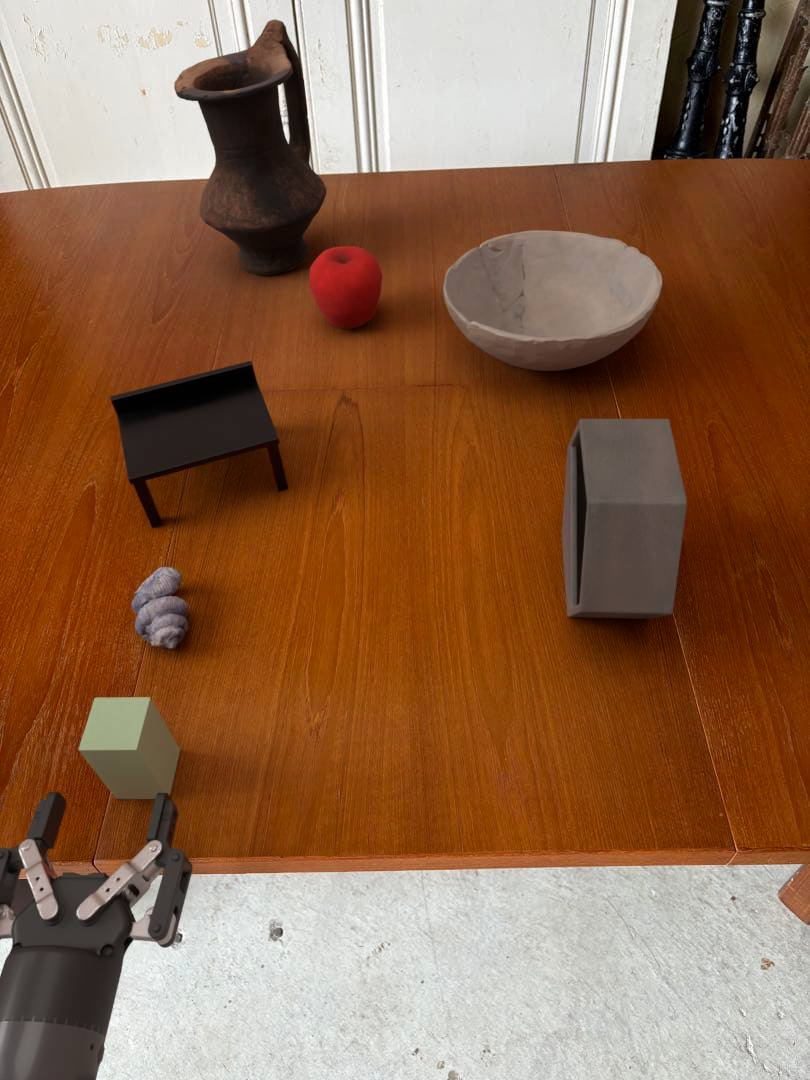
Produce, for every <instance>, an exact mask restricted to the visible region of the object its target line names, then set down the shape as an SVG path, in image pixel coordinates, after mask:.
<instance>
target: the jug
mask: <svg viewBox="0 0 810 1080" xmlns="http://www.w3.org/2000/svg"><path fill="white" fill-rule="evenodd" d="M173 84H174V86H173V88H174V92H175V94H176V97H178V98H179V99H182V100H185V101H188V102H189V101H190V102H197V104H198V106H199V109H200V111H201V114H202V117H203V119H204V122H205V125H206V129H207V132H208V134H209V138H210V141H211V143H212V146H213V150H214V157H215V162H214V163H215V164H214V167H213V169H212V172H211V173H210V175H209V178H208V180H207V182H206V185H205V187H204V189H203V191H202V194H201V198H200V202H199V214H200V217H201V219H202V221H204V223H205V224H206V225H208V226H209V227H210V228H212V229H214V230H215V231H217V232H219V233H221V234H223V235H224V236H225V237H227V238H228V239H229V240H230V241H232V242H233V243H234V244H235V245H237V247H238V248H239V251H238V255H237V261H238V265H239V266H240V268H241V269H242V270H243V271H244V270H245V271H246V272H248V273H251V274H257V275H265V276H266V275H267V276H268V275H276V274H280V273H283V272H287V271H291V270H293V269H296V268H297V267H298V266H301V265H302V264H303V263H305V261H306V260H307V257H308V255H309V244H308V243H307V241H306V240H305V239H304V234H305V233H306V232H307V230H308V228H309V227H310V225H311V223H312V222H313V220H314V218H315V217H316V216H317V215H318V213H319V212H320V210H321V208H322V206H323V204H324V202H325V199H326V196H327V187H326V185H325V182H324V180H323V179H322V178H321V177H320V176H319V175H318V174H317V173H316V171H314V169H312V166H311V164H310V159H311V158H310V157H311V146H312V145H311V133H310V125H309V118H308V113H309V112H308V104H307V95H306V94H307V93H306V87H305V86H306V85H305V80H304V75H303V67H302V63H301V61H300V57H299V55H298V53H297V51H296V49H295V46H294V44H293V42H292V41H291V38H290V36H289V35H288V31H287V26H286V25H285V23H284V22H283V21H282V20H278V19H277V18H276V19H275V18H274V19H270V20H269V21H267V23H266V24H265V26H264V28H263V29H262V31H261V33H260V34H259V36H258V37H257V39H256V40H255V42H254V43H253V44H252V46H250V47H248V48H247V49H244V50H241V51H237V52H232V53H227V54H224V55H220V56H215V57H212V58H208V59H204V60H202V61H199V62H197V63H195V64H193V65H191V66H189V67H187V68H185V69H183V70H182V71H181V72H180V74H179V75H178V76H177V78H176V80H175V81H174V83H173ZM282 84H283V91H284V95H285V96H284V97H285V103H286V108H287V121H288V123H287V124H288V135H289V139H287V138H286V133H285V130H284V124H283V119H282V113H281V106H280V93H279V86H281V85H282Z"/></svg>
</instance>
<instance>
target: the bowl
mask: <svg viewBox="0 0 810 1080" xmlns="http://www.w3.org/2000/svg"><path fill="white" fill-rule="evenodd" d="M662 276H663V275H662V273H661V272H660V270H659V269H658V267H657V266H656V264H655V263H654V261H653V260H652V258H650V257H649V256H648V255H645V254H643V253H641V252H640V251H639V249H638V248H636V247H634V246H628V243H625V242H623V241H622V240H620V239H616V238H611V237H602V236H598V235H595V234H592V233H591V234H590V233H583V232H575V231H561V230H545V229H544V230H525V231H519V232H513V233H508V234H503V235H500V236H499V235H498V236H496V237H493V238H490V239H487V240H485V241H483V242H482V243H481V244H480V245H479V246H478V247H474V248H471V249H469V250H468V251H467V252H465V253H464V254H462V255H461V256H460V257H459V258H458V259H457V260H456V262H454V263H453V264H452V265H451V266H449V268H448V269H447V271H446V272H445V275H444V281H443V285H442V292H443V293H442V294H443V301H444V303H445V307H446V310H447V312H448V314H449V316H450V318H451V319H452V321H453V322H454V324H455V325H456V326H457V328H458V329H459V330H460V332H461V333H462V334H463V336H465V338H466V339H467V340H468V341H469V342H471V343H472V344H474V345H475V346H476V347H477V348H479V350H481V351H483V352H484V353H486V354H487V355H489V356H491V357H493V358H495V359H497V360H499V361H501V362H503V363H505V364H508V365H511V366H512V367H513V366H514V367H516V368H520V369H524V370H533V371H540V372H554V371H556V372H557V371H566V370H570V369H576V368H579V367H584V366H586V365H590V364H593V363H595V362H597V361H599V360H602V359H603V358H605V357H607V356H609V355H610V354H613V353H614V352H616V351H617V350H619V349H620V348H622V347H623V346H624V345H626V344H627V343H628V342H629V341H631V340H632V339H634V337H636V335H637V334H638V333H639V332H640V331H641V330H642V329H643V328H644V326H645V325H646V323H647V322H648V320H649V319H650V317H651V316H652V314H653V312H654V310H655V308H656V306H657V304H658V302H659V300H660V298H661V295H662V287H663V277H662Z"/></svg>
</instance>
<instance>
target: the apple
mask: <svg viewBox="0 0 810 1080" xmlns="http://www.w3.org/2000/svg"><path fill="white" fill-rule="evenodd" d="M308 279H309V289H310V291H311V293H312V297H313V298H314V302H316V305H317V307H318V309H319V311H320V313H321V315H322V316H323V318H324V320H325V321H326V322H327V323H328V324H329V325H331V326H334V327H338V328H341V329H344V330H345V329H355V328H358V327H360V326H363V325H364V324H365V323H367V322H369V321H370V320H371V319H373V318H374V316H375V314H376V311H377V308H378V304H379V301H380V298H381V293H382V284H383V283H382V282H383V274H382V270H381V267H380V265H379V263H378V260H377V258H376V257H375V256H374V255H372V254H371V253H370V252H369V251H368V250H366V249H364V248H362V247H360V246H359V247H358V246H355V245H352V246H351V245H350V246H349V245H347V246H346V245H344V246H334V247H330V248H328V249H325V250H324V251H322V253H320V254H319V255H318V256H317V258H316V259H315V260H314V261H313V263H312V264H311V266H310V268H309V277H308Z"/></svg>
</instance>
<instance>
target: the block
mask: <svg viewBox="0 0 810 1080" xmlns="http://www.w3.org/2000/svg"><path fill="white" fill-rule="evenodd" d="M91 705H92V706H91V708H90V711H89V715H88V718H87V721H86V724H85V727H84V730H83V733H82V736H81V739H80V743H79V747H78V752H79V753H80V754H81V755H82V757H83V758H84V760H85V761H86V762H87V764H88V765H89V766H90V767H91V768H92V770H93V771H94V772H95V774H96V775H97V776H98V777H99V779H100V780H101V781H102V782H103V784H104V785H105V786H106V788H107V789H108V790H109V792H110V793H111V794H112V796H113V797H114V798H115V799H116V800H155V798H156V795H157V793H168V794H169V796H170V797H171V792H172V790H173V789H172V788H173V786H174V785H173V784H174V780H175V775H176V771H177V767H178V762H179V758H180V753H181V748H180V746H179V744H178V742H177V741H176V739H175V738H174V735H173V734H172V732H171V731H170V729H169V726H168V725H167V724H166V722H165V720H164V718H163V716H162V715H161V713H160V711H159V710H158V708H157V706H156V704H155V703H154V701H153V699H152V697H149V696H141V697H139V696H137V697H136V696H134V697H128V696H127V697H124V696H123V697H120V696H119V697H94V699H93V702H92V704H91Z"/></svg>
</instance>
